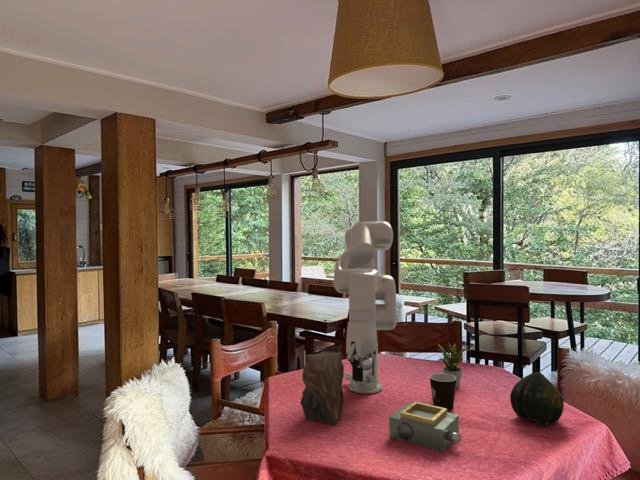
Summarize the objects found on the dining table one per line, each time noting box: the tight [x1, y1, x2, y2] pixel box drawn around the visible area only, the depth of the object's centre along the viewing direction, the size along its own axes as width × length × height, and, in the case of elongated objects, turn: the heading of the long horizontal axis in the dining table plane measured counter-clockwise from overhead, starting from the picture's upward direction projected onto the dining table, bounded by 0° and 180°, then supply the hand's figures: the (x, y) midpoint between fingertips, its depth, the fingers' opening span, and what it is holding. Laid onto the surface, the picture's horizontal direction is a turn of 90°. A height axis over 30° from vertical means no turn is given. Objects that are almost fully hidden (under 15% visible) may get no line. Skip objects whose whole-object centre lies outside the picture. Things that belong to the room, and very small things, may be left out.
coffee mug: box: [429, 372, 456, 412], centre depth 154 cm, size 12×9×10 cm
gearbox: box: [388, 401, 462, 453], centre depth 131 cm, size 19×13×8 cm, turn 54°
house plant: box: [436, 342, 472, 389], centre depth 172 cm, size 14×14×16 cm
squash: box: [509, 370, 565, 427], centre depth 142 cm, size 14×15×15 cm
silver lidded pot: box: [354, 354, 372, 384], centre depth 132 cm, size 5×5×8 cm
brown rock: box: [300, 350, 345, 426], centre depth 148 cm, size 13×13×20 cm
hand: (363, 377), depth 132 cm, fingers closed on silver lidded pot, 5 cm apart
